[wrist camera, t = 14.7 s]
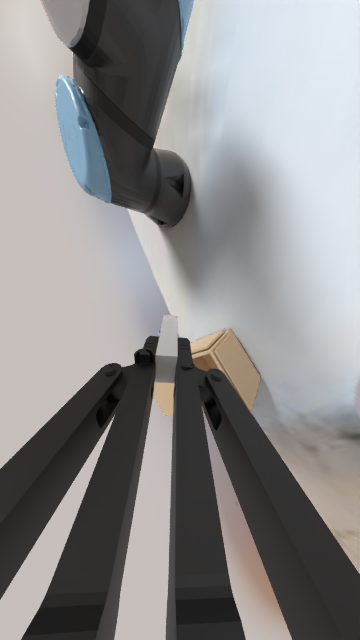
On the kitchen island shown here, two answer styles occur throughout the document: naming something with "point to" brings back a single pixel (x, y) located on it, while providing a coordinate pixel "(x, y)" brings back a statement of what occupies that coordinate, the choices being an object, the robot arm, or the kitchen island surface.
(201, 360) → the carton
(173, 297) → the kitchen island surface
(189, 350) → the robot arm
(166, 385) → the front flap
